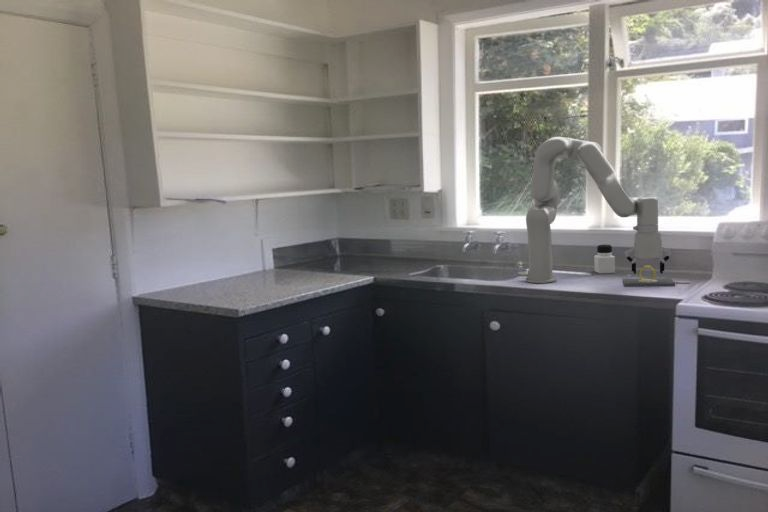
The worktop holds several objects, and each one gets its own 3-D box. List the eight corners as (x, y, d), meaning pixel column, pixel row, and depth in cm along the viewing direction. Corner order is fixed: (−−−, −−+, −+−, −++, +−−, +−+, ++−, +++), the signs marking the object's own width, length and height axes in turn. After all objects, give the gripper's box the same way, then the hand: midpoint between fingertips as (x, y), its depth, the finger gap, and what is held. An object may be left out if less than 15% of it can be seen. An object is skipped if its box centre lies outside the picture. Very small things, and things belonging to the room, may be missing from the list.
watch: (639, 282, 265) (637, 266, 264) (640, 280, 267) (639, 265, 267) (655, 281, 262) (654, 266, 261) (656, 280, 264) (655, 265, 264)
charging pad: (624, 286, 261) (624, 283, 261) (622, 281, 273) (622, 278, 273) (693, 285, 255) (693, 283, 254) (688, 280, 266) (688, 277, 266)
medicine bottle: (615, 272, 294) (615, 245, 292) (599, 273, 294) (598, 246, 292) (610, 270, 301) (610, 243, 299) (594, 271, 301) (593, 244, 300)
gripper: (624, 230, 261) (624, 274, 263) (673, 229, 256) (673, 274, 258) (623, 228, 268) (623, 271, 270) (670, 227, 263) (670, 271, 265)
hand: (647, 273), depth 264 cm, fingers open, 9 cm apart
